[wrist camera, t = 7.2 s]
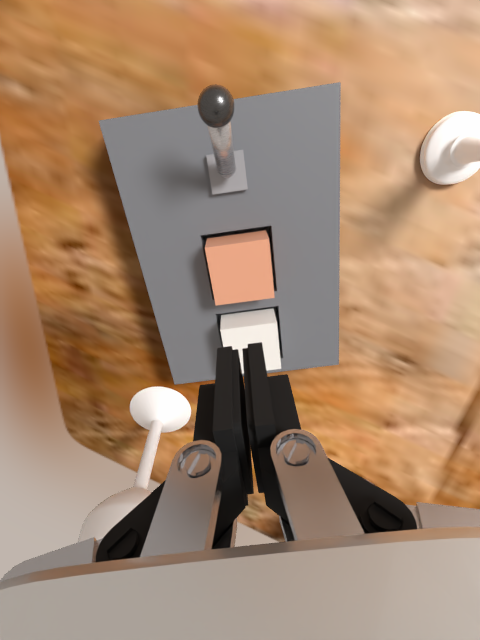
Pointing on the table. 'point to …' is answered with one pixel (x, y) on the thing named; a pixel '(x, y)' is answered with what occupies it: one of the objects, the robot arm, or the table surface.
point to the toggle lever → (219, 126)
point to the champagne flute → (157, 416)
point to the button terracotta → (240, 267)
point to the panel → (236, 220)
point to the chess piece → (452, 148)
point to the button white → (252, 334)
